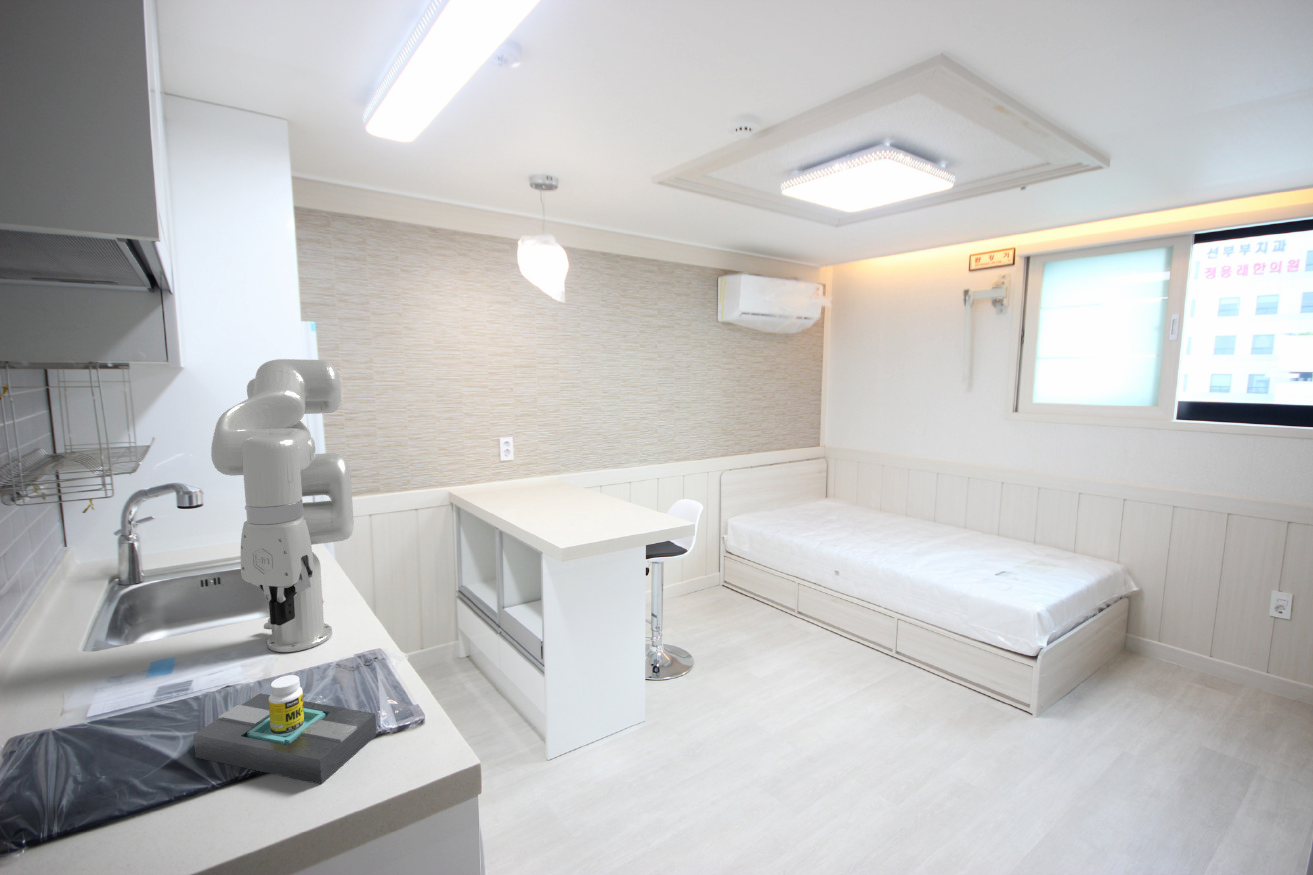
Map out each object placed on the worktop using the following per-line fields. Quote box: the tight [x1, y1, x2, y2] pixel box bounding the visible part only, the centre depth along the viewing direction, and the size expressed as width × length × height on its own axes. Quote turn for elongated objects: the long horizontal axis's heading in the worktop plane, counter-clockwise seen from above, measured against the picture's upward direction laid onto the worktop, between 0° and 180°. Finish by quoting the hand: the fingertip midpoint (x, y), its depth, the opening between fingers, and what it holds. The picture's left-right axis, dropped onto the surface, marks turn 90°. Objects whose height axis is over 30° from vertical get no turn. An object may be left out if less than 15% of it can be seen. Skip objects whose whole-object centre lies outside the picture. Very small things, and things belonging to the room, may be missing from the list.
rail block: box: [193, 693, 377, 785], centre depth 96 cm, size 24×12×4 cm, turn 77°
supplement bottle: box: [269, 674, 304, 737], centre depth 96 cm, size 5×5×8 cm
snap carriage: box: [247, 708, 325, 745], centre depth 96 cm, size 8×8×3 cm
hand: (283, 621), depth 95 cm, fingers closed
